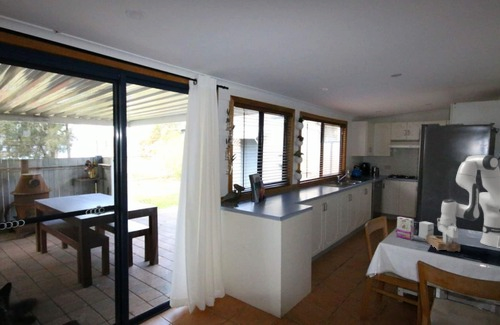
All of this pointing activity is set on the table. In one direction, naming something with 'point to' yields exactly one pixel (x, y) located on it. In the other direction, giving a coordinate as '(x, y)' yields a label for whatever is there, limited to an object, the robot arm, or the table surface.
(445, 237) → the plug
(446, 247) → the socket block
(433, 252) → the table surface
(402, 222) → the candy bar box
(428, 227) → the supplement box
